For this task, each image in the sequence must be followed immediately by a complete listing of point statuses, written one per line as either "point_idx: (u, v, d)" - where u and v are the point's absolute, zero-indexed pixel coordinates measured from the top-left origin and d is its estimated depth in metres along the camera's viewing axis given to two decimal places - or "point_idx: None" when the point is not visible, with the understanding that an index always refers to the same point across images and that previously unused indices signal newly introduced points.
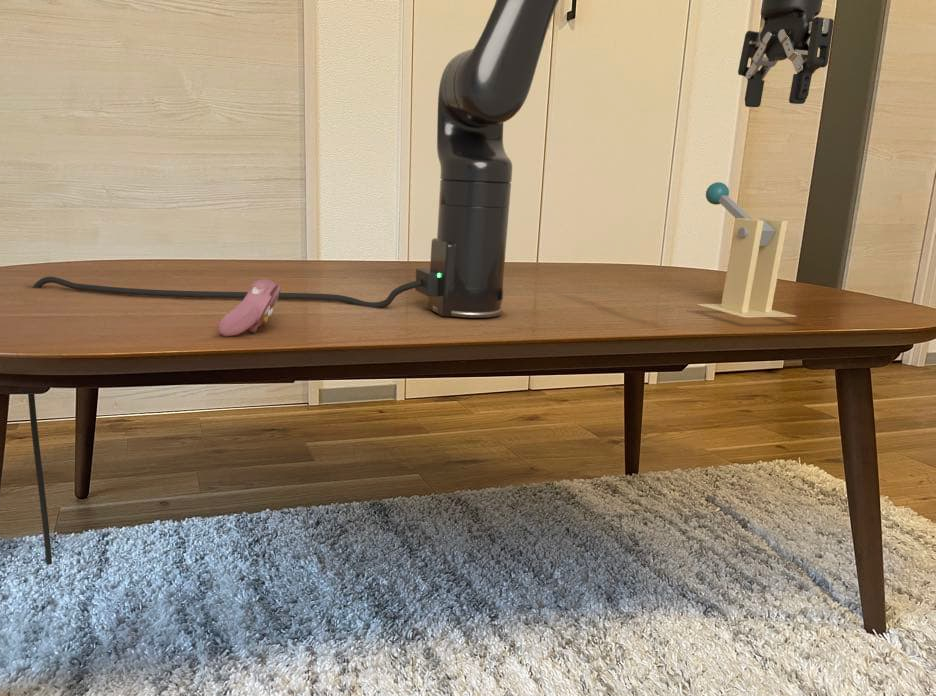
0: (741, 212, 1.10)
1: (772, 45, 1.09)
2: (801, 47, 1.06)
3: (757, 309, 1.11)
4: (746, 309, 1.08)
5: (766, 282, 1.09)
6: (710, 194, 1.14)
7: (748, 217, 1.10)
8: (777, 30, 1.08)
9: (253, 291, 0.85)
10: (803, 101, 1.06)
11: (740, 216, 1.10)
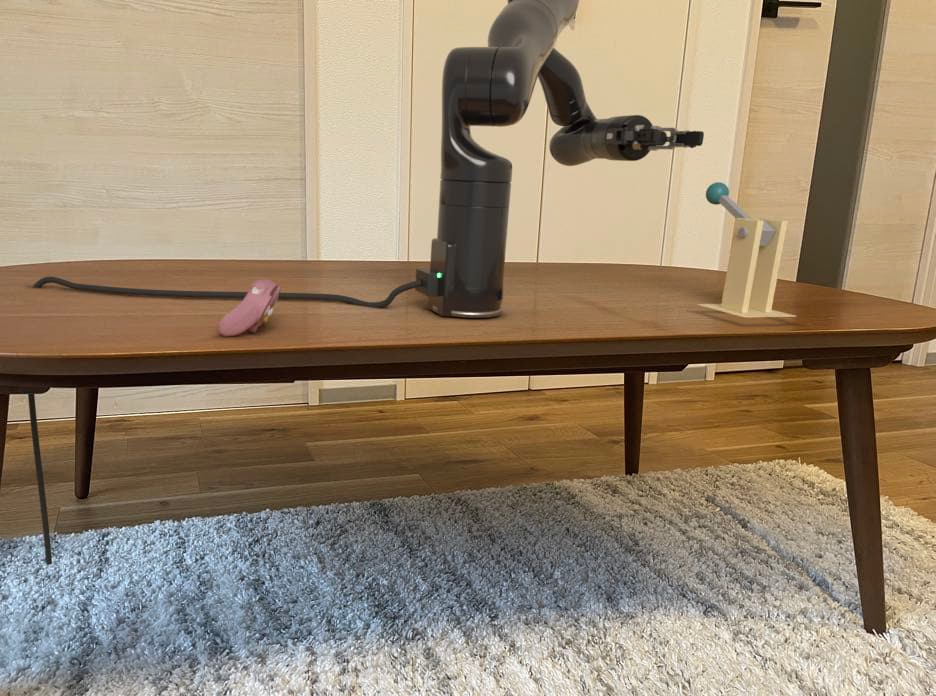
0: (741, 212, 1.10)
1: None
2: (665, 141, 1.30)
3: (757, 309, 1.11)
4: (746, 309, 1.08)
5: (766, 282, 1.09)
6: (710, 194, 1.14)
7: (748, 217, 1.10)
8: None
9: (253, 291, 0.85)
10: None
11: (740, 216, 1.10)
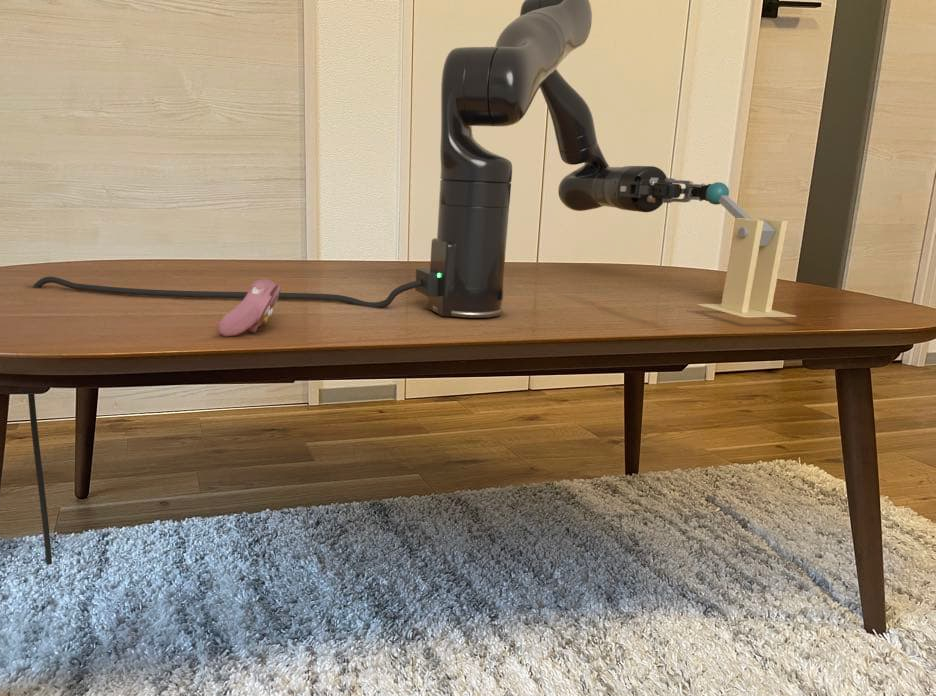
0: (741, 212, 1.10)
1: None
2: None
3: (757, 309, 1.11)
4: (746, 309, 1.08)
5: (766, 282, 1.09)
6: (710, 194, 1.14)
7: (748, 217, 1.10)
8: None
9: (253, 291, 0.85)
10: None
11: (740, 216, 1.10)
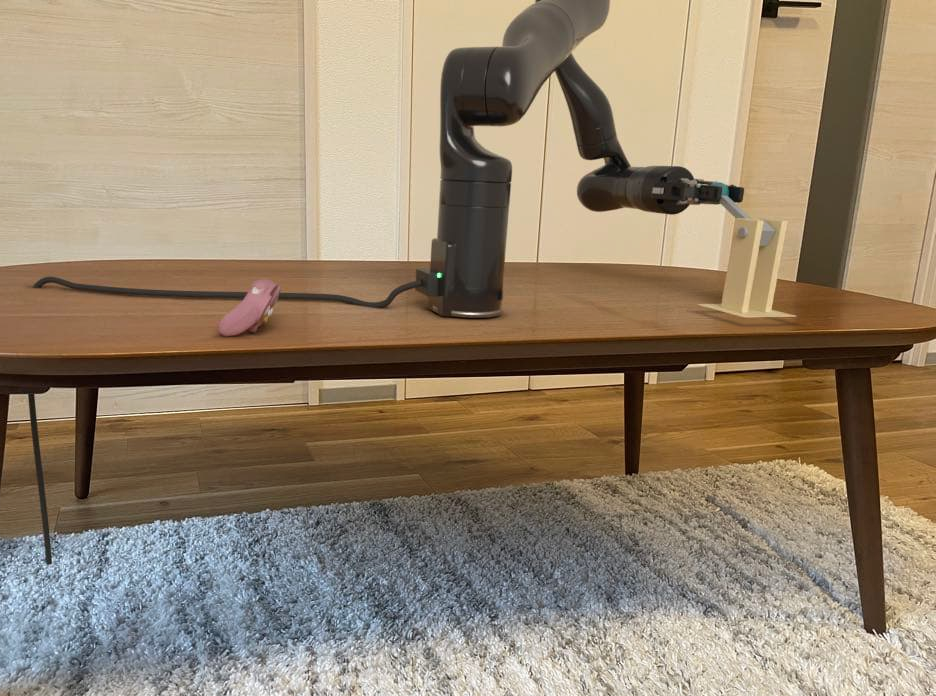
0: (741, 212, 1.10)
1: None
2: None
3: (757, 309, 1.11)
4: (746, 309, 1.08)
5: (766, 282, 1.09)
6: None
7: (748, 217, 1.10)
8: None
9: (253, 291, 0.85)
10: None
11: (740, 216, 1.10)
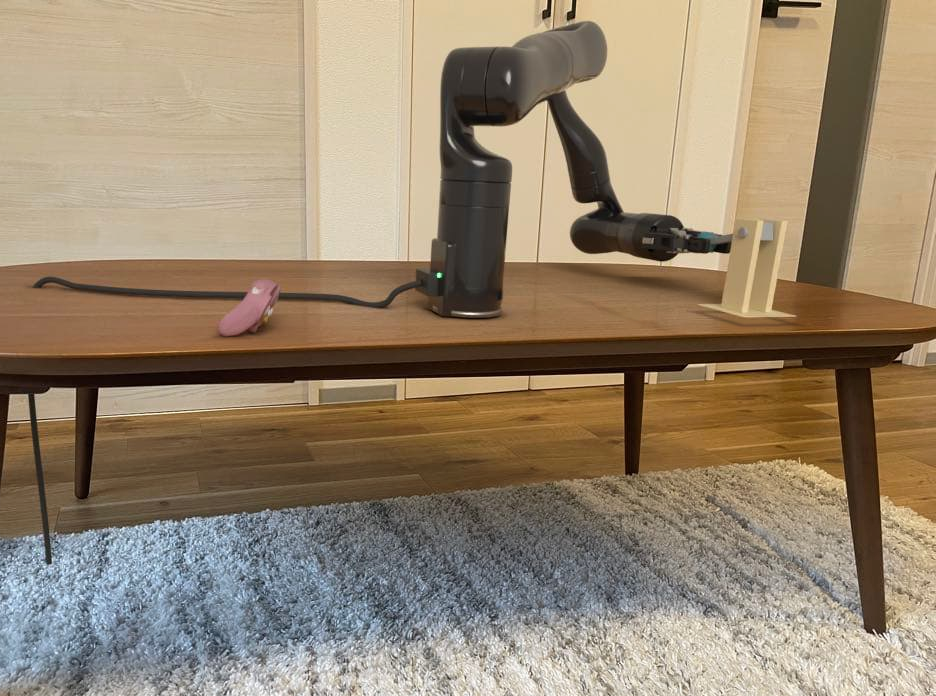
0: None
1: None
2: None
3: (757, 309, 1.11)
4: (746, 309, 1.08)
5: (766, 282, 1.09)
6: None
7: None
8: None
9: (253, 291, 0.85)
10: None
11: None
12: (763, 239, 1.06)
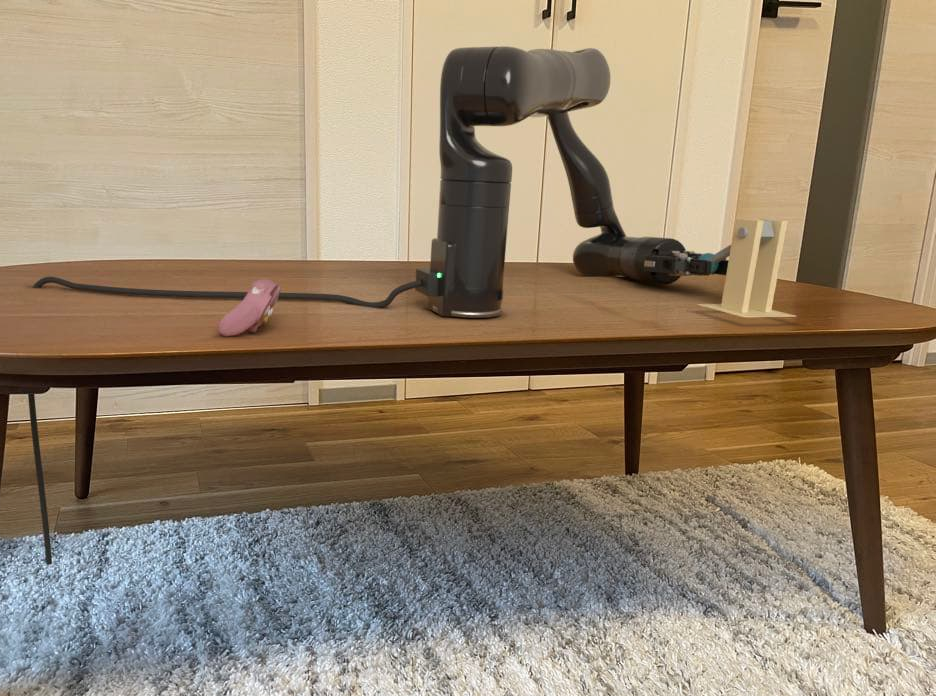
0: None
1: None
2: None
3: (757, 309, 1.11)
4: (746, 309, 1.08)
5: (766, 282, 1.09)
6: None
7: None
8: None
9: (253, 291, 0.85)
10: None
11: None
12: (764, 235, 1.06)
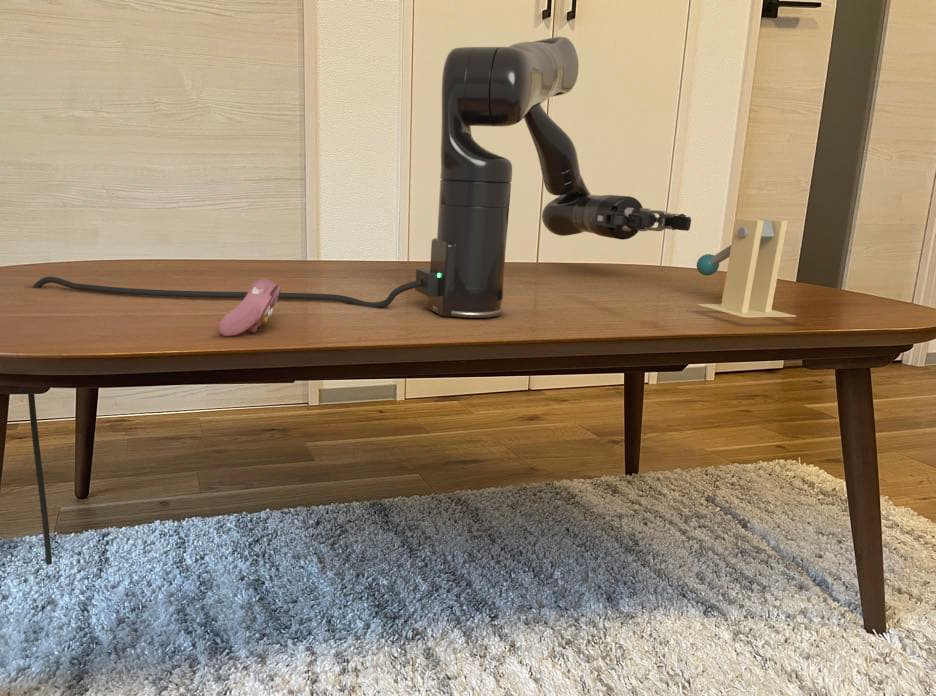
0: None
1: (634, 213, 1.33)
2: (654, 223, 1.34)
3: (757, 309, 1.11)
4: (746, 309, 1.08)
5: (766, 282, 1.09)
6: (701, 263, 1.17)
7: None
8: None
9: (253, 291, 0.85)
10: (688, 228, 1.29)
11: None
12: (765, 235, 1.06)
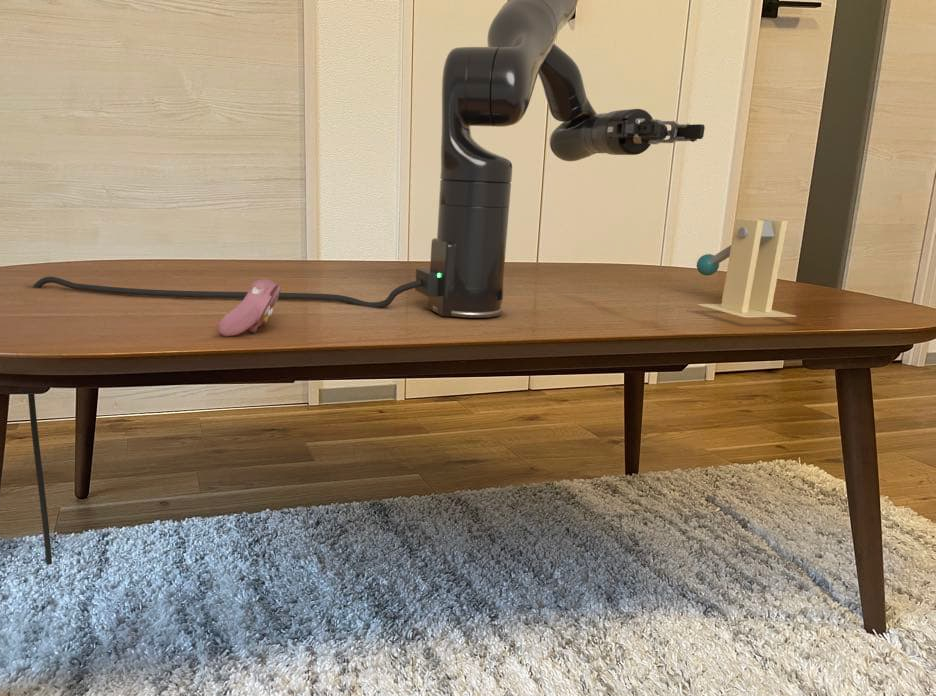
0: None
1: None
2: None
3: (757, 309, 1.11)
4: (746, 309, 1.08)
5: (766, 282, 1.09)
6: (701, 263, 1.17)
7: None
8: None
9: (253, 291, 0.85)
10: None
11: None
12: (765, 235, 1.06)
